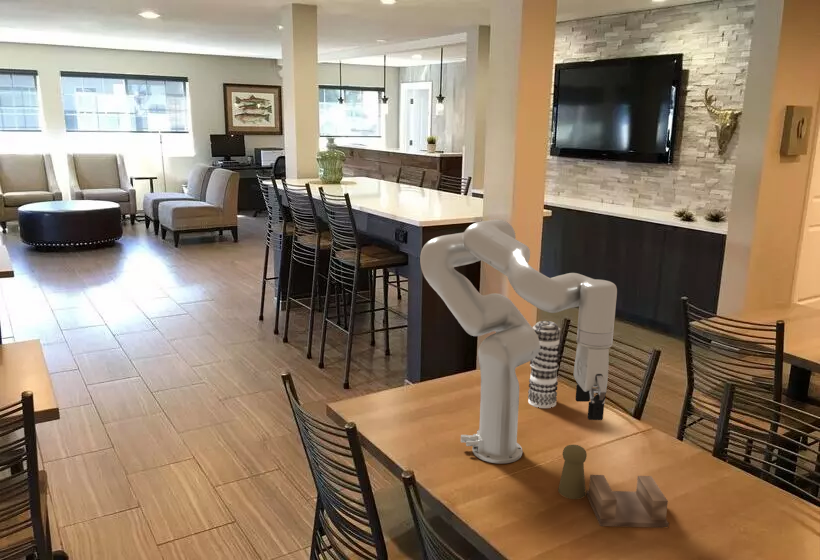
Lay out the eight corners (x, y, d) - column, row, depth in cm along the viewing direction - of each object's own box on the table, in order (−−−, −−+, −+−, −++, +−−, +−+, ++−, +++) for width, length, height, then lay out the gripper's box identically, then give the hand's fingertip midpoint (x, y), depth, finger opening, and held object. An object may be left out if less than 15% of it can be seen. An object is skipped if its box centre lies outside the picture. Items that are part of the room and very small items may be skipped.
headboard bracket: (600, 525, 134) (602, 502, 133) (586, 494, 146) (587, 472, 145) (668, 527, 134) (670, 503, 133) (648, 495, 146) (651, 473, 145)
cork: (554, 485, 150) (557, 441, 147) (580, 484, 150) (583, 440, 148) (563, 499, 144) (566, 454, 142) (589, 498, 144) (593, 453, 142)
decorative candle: (560, 409, 191) (566, 328, 186) (529, 408, 191) (533, 327, 186) (554, 396, 200) (559, 319, 195) (524, 396, 200) (528, 318, 195)
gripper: (567, 324, 149) (562, 394, 153) (588, 349, 132) (582, 427, 136) (599, 325, 149) (593, 394, 153) (625, 350, 132) (618, 427, 136)
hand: (588, 410), depth 144 cm, fingers open, 9 cm apart
